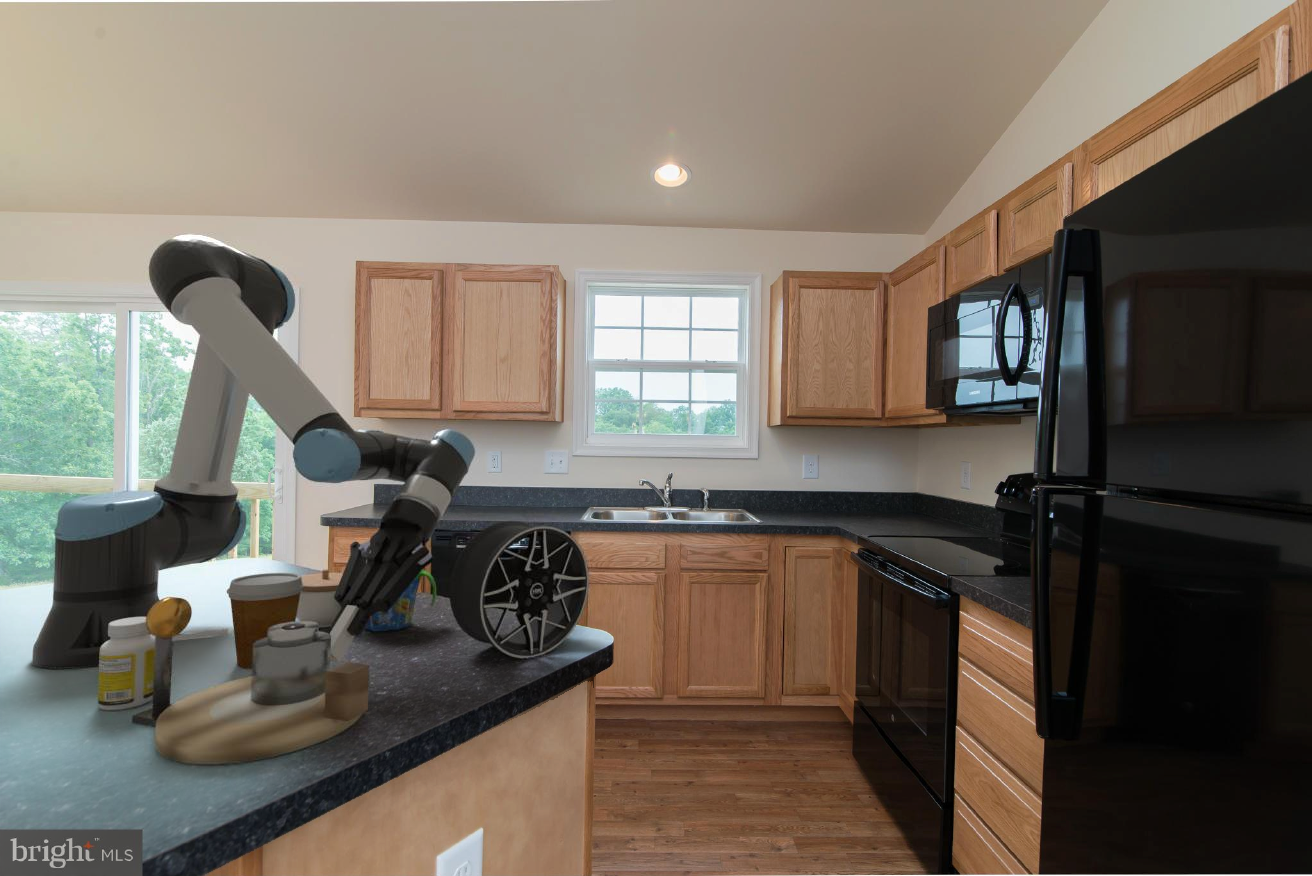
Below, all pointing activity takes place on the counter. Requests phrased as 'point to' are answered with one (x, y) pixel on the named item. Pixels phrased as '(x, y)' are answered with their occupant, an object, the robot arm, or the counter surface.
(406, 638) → the counter surface
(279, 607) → the disposable coffee cup
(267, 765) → the counter surface
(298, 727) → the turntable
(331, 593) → the lidded jar
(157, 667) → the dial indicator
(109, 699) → the supplement bottle
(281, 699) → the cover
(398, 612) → the snack cup
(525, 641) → the wheel rim
